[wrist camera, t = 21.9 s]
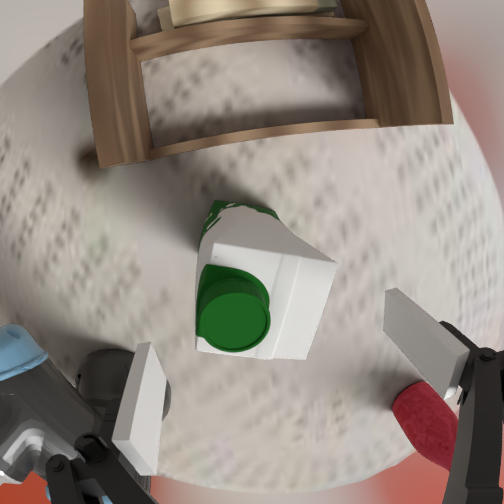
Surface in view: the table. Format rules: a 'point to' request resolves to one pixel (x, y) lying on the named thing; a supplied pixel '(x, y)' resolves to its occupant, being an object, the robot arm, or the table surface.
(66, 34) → the table surface
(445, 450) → the wine bottle
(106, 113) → the walnut rack
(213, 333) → the soya milk
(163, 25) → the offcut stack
